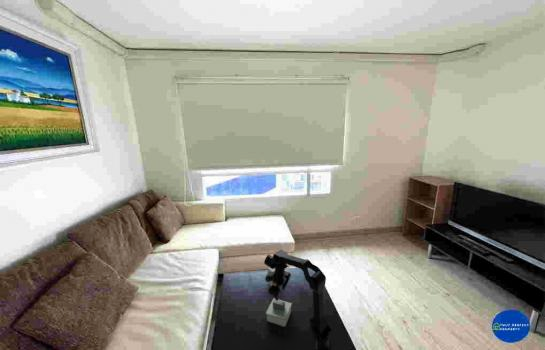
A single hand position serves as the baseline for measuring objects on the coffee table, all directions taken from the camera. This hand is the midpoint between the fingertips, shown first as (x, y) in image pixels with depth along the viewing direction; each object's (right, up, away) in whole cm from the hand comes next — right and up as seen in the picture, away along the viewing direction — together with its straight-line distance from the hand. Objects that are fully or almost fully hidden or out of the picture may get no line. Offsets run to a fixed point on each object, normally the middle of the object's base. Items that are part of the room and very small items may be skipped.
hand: (280, 294), depth 126 cm
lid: (-1, -9, 0) cm, 9 cm away
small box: (-3, -8, +28) cm, 30 cm away
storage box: (0, -13, +1) cm, 13 cm away
